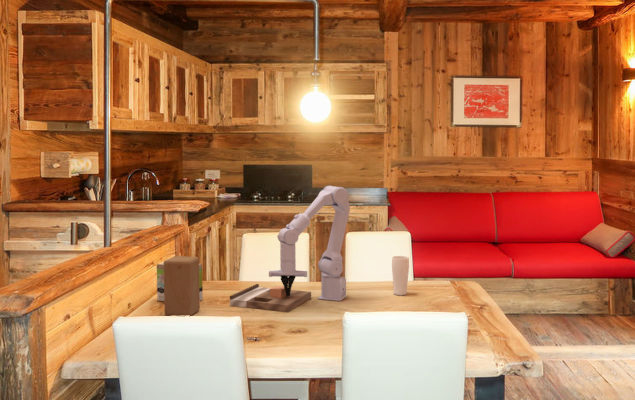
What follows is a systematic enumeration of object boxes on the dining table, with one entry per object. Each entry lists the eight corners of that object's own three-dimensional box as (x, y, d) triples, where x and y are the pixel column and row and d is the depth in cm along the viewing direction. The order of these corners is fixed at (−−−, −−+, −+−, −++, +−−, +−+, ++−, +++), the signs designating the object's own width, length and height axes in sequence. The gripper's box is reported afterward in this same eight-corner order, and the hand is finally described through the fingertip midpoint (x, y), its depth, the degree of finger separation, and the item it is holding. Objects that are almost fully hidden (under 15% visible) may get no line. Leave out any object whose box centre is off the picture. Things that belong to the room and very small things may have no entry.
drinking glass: (408, 292, 264) (408, 256, 263) (409, 296, 258) (409, 259, 256) (391, 292, 265) (391, 255, 263) (391, 296, 258) (392, 258, 257)
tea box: (156, 301, 251) (155, 263, 249) (173, 295, 260) (172, 259, 258) (187, 306, 244) (186, 267, 242) (203, 300, 253) (203, 262, 251)
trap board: (311, 298, 255) (311, 288, 255) (288, 312, 235) (288, 302, 234) (256, 292, 264) (256, 283, 264) (229, 305, 244) (229, 296, 243)
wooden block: (190, 317, 228) (188, 261, 226) (163, 316, 230) (162, 260, 228) (200, 310, 238) (199, 256, 236) (175, 308, 240) (174, 255, 238)
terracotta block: (287, 295, 250) (287, 287, 249) (281, 297, 245) (281, 290, 245) (276, 293, 252) (276, 286, 252) (270, 296, 248) (269, 288, 247)
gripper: (307, 258, 249) (307, 292, 250) (270, 257, 249) (270, 292, 251) (306, 261, 242) (306, 297, 243) (267, 261, 242) (268, 297, 244)
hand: (288, 295), depth 246 cm, fingers closed
